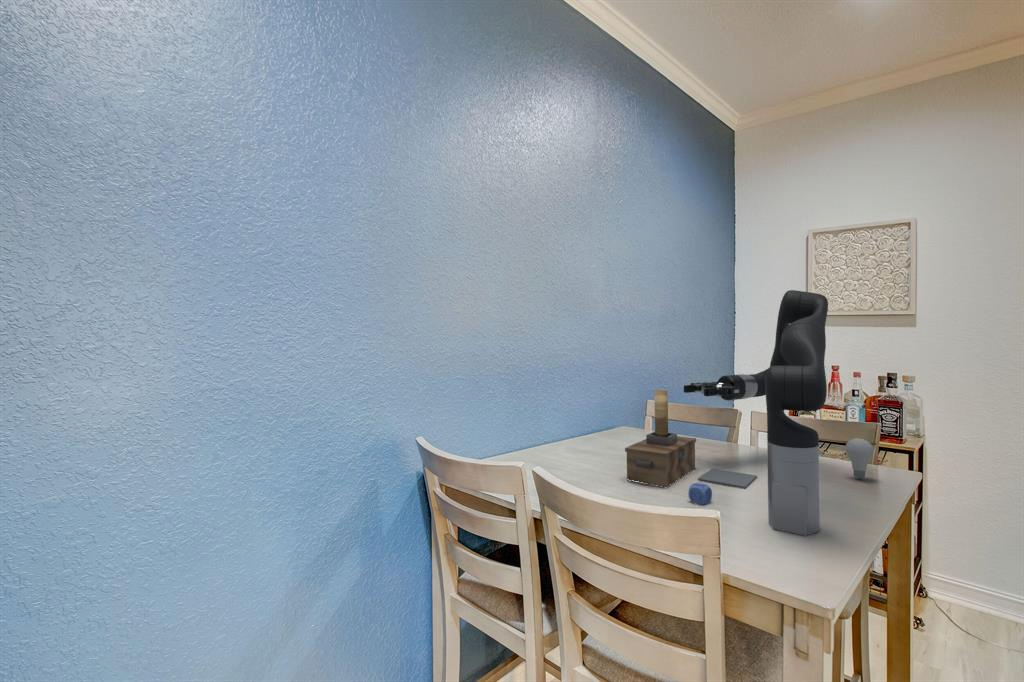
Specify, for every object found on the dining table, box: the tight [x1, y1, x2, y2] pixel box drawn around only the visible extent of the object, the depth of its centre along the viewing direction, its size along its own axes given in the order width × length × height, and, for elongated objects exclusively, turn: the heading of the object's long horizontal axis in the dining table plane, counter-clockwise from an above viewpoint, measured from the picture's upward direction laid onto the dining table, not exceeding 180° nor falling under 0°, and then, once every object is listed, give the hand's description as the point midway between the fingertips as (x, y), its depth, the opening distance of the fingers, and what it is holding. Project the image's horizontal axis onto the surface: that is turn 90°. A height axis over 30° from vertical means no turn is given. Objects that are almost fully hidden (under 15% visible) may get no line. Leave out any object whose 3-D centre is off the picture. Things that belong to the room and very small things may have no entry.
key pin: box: [654, 389, 669, 437], centre depth 137 cm, size 4×4×15 cm
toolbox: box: [624, 435, 697, 488], centre depth 138 cm, size 25×12×9 cm, turn 140°
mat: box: [697, 467, 758, 490], centre depth 132 cm, size 12×12×1 cm
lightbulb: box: [844, 437, 874, 480], centre depth 129 cm, size 6×6×11 cm
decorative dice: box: [688, 482, 713, 506], centre depth 115 cm, size 4×4×4 cm
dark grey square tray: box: [645, 431, 678, 447], centre depth 138 cm, size 6×6×2 cm
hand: (694, 390), depth 141 cm, fingers open, 8 cm apart
